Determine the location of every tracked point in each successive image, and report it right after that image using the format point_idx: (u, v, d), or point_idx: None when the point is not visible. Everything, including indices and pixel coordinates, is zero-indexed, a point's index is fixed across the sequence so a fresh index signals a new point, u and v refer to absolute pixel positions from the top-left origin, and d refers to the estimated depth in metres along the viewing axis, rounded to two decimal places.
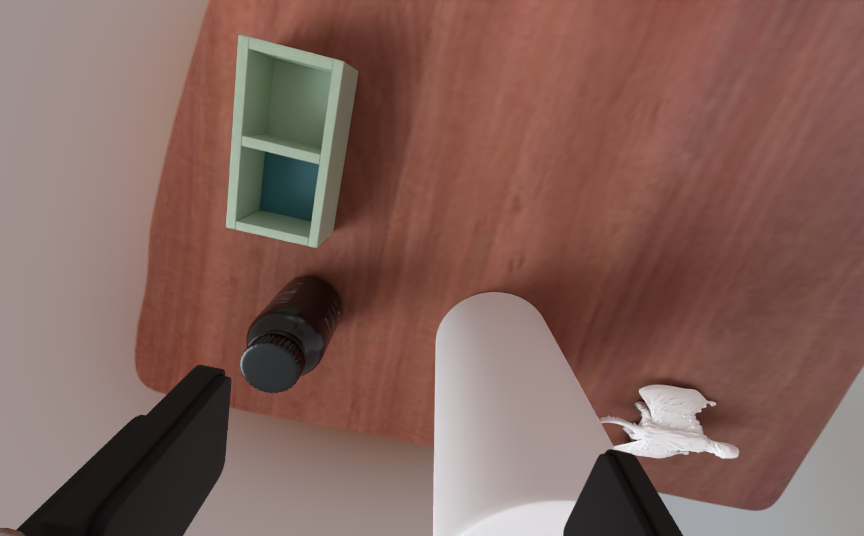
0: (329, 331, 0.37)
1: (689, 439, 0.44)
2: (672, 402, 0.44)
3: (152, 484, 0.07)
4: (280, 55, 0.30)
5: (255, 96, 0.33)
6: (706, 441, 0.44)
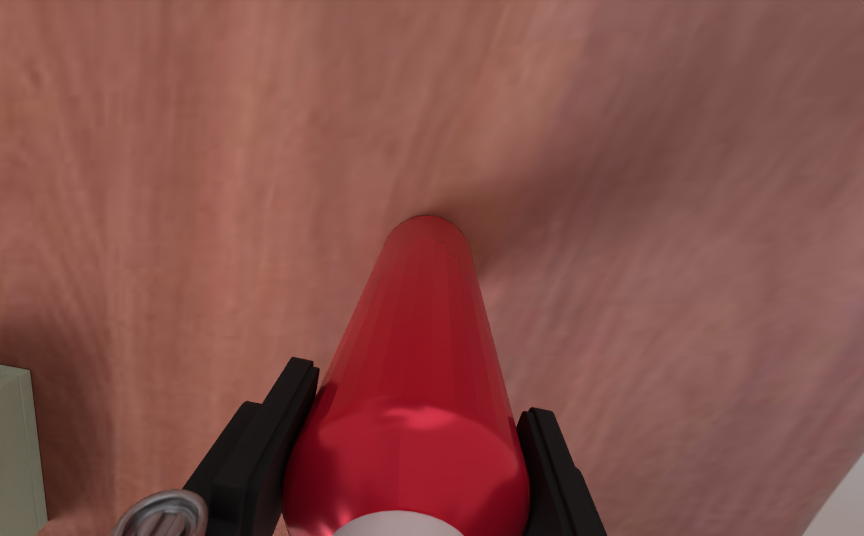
0: None
1: None
2: None
3: (279, 458, 0.08)
4: None
5: None
6: None
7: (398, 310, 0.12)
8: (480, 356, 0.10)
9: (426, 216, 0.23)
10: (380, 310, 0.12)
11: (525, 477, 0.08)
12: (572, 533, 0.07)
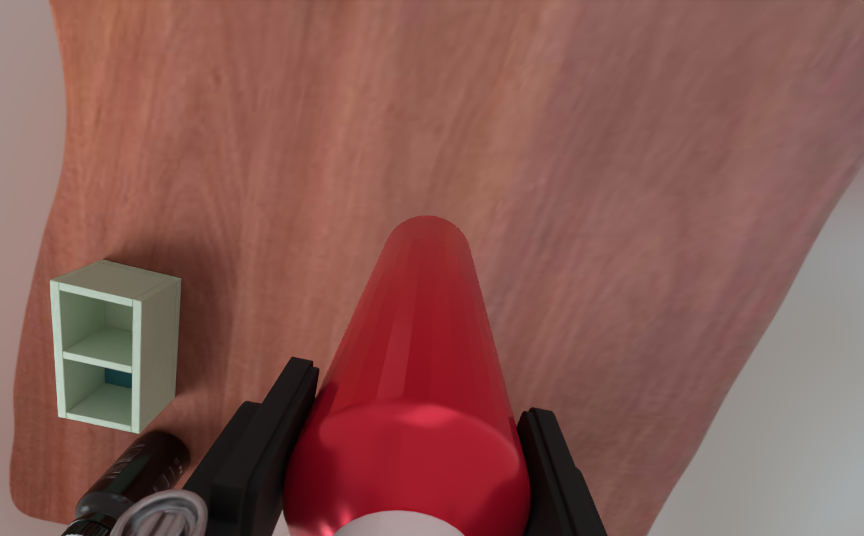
0: None
1: None
2: None
3: (279, 457, 0.08)
4: (87, 295, 0.35)
5: (78, 313, 0.38)
6: None
7: (399, 310, 0.12)
8: (480, 357, 0.10)
9: (426, 216, 0.24)
10: (380, 311, 0.12)
11: (526, 477, 0.08)
12: (572, 533, 0.07)
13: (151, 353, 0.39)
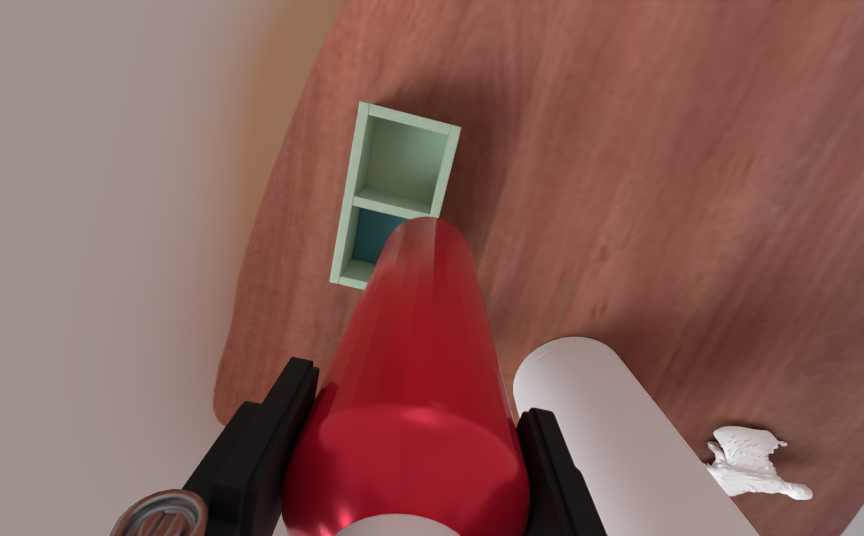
0: None
1: (764, 481, 0.45)
2: (746, 444, 0.45)
3: (279, 457, 0.08)
4: (399, 121, 0.30)
5: (364, 156, 0.33)
6: (780, 483, 0.45)
7: (398, 312, 0.12)
8: (480, 358, 0.10)
9: (426, 217, 0.23)
10: (380, 312, 0.12)
11: (525, 480, 0.08)
12: (572, 533, 0.07)
13: None
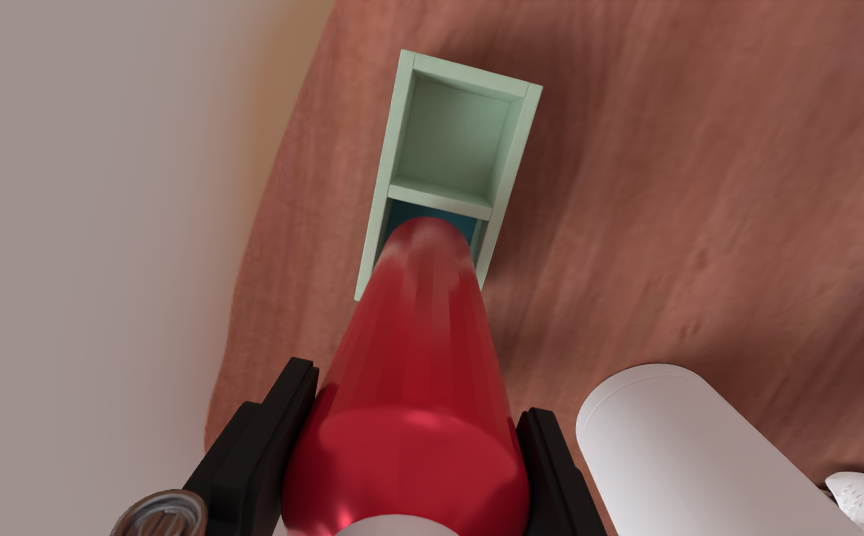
0: None
1: None
2: None
3: (279, 457, 0.08)
4: (456, 78, 0.22)
5: (403, 130, 0.24)
6: None
7: (398, 312, 0.12)
8: (480, 359, 0.10)
9: (426, 217, 0.23)
10: (380, 312, 0.12)
11: (525, 480, 0.08)
12: (572, 533, 0.07)
13: None
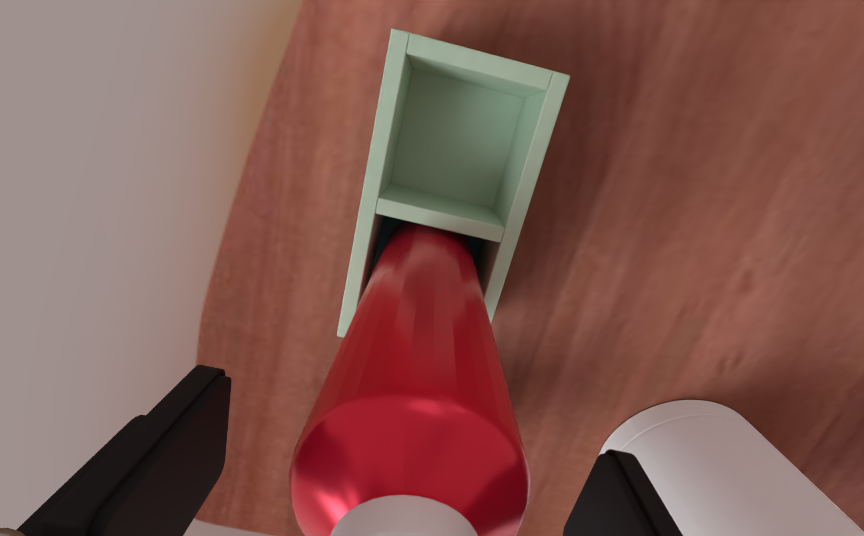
0: None
1: None
2: None
3: (152, 484, 0.07)
4: (461, 65, 0.17)
5: (395, 131, 0.20)
6: None
7: (401, 306, 0.12)
8: (481, 350, 0.11)
9: None
10: (383, 306, 0.12)
11: (525, 465, 0.09)
12: None
13: None
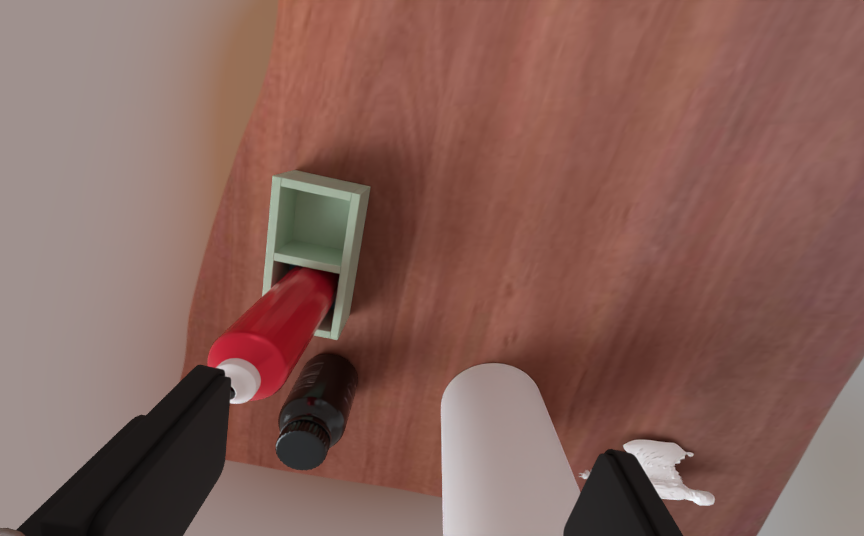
0: (348, 408, 0.43)
1: (669, 489, 0.49)
2: (653, 456, 0.50)
3: (152, 484, 0.07)
4: (307, 191, 0.36)
5: (284, 217, 0.38)
6: (684, 490, 0.49)
7: (259, 306, 0.30)
8: (283, 321, 0.29)
9: None
10: (254, 306, 0.31)
11: (281, 355, 0.27)
12: None
13: (353, 256, 0.39)
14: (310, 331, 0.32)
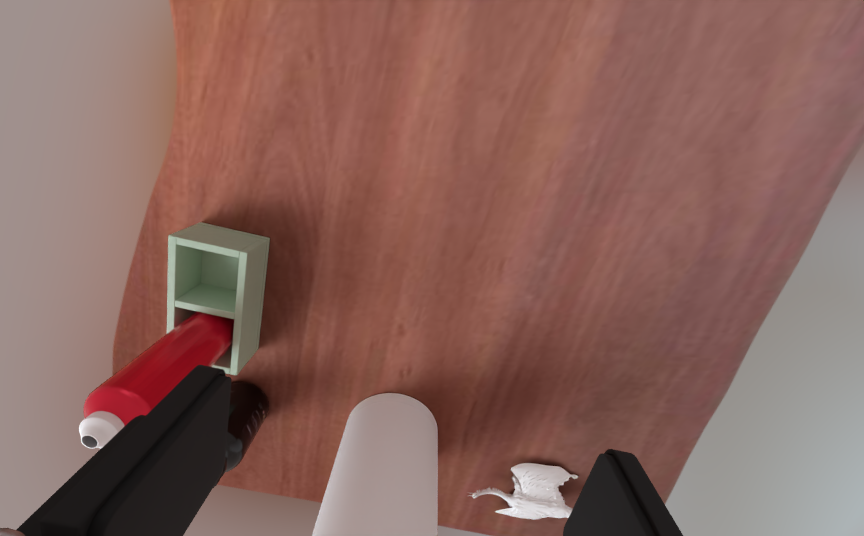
0: (250, 434, 0.48)
1: (550, 508, 0.54)
2: (537, 478, 0.55)
3: (152, 484, 0.07)
4: (200, 249, 0.40)
5: (186, 267, 0.43)
6: (564, 510, 0.55)
7: (141, 358, 0.35)
8: (157, 373, 0.34)
9: None
10: (137, 357, 0.35)
11: (146, 406, 0.32)
12: None
13: (248, 302, 0.44)
14: None
